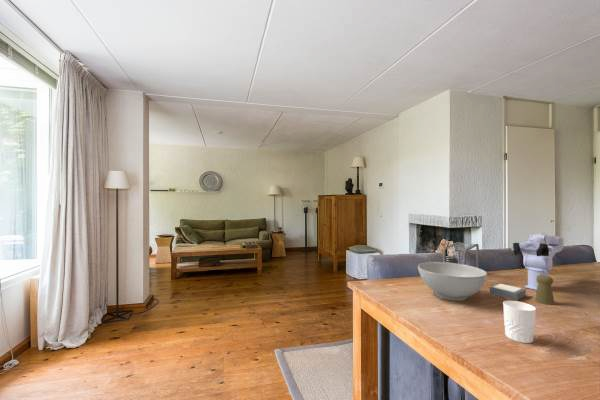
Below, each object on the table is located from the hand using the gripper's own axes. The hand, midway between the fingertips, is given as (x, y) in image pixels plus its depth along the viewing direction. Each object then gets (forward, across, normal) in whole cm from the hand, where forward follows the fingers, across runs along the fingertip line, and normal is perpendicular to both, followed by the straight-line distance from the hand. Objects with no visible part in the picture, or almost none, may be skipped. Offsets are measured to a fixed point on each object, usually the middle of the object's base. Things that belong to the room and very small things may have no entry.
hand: (526, 253), depth 118 cm
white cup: (+49, +7, +13) cm, 51 cm away
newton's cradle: (-8, -32, +18) cm, 38 cm away
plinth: (+6, -8, +18) cm, 20 cm away
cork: (+4, +4, +20) cm, 20 cm away
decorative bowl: (+27, -22, +14) cm, 38 cm away
